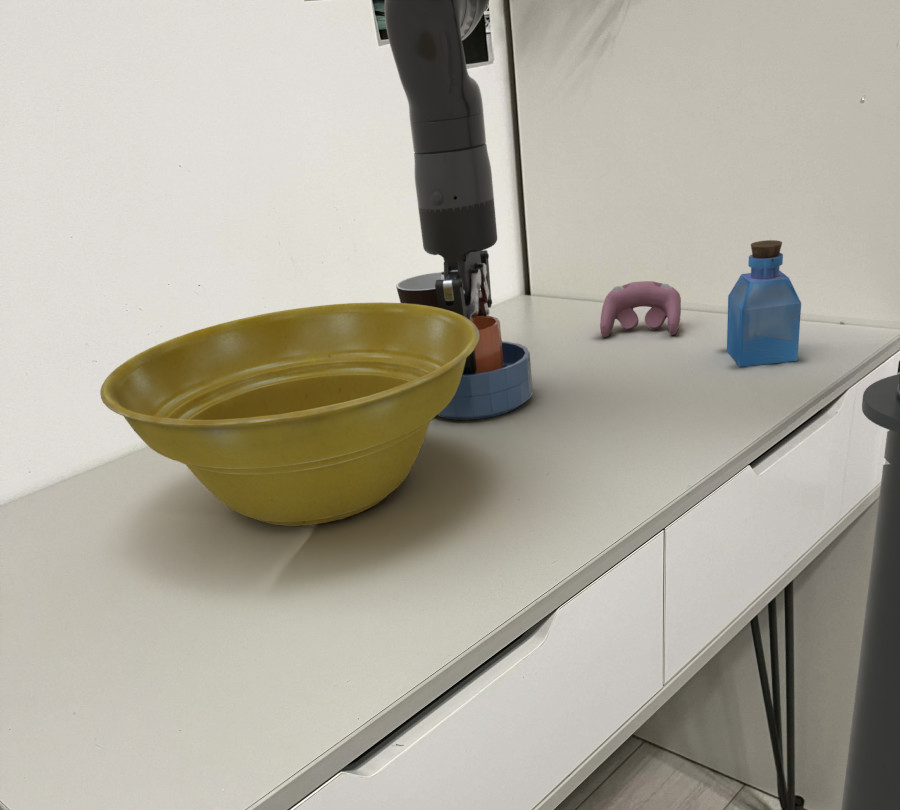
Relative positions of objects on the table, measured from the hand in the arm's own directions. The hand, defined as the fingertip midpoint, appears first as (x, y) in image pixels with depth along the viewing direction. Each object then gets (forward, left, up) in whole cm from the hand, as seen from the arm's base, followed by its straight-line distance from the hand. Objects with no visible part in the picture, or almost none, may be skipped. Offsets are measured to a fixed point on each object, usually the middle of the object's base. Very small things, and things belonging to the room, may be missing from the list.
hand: (473, 363), depth 102 cm
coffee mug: (+9, -14, -5) cm, 17 cm away
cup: (0, 0, -4) cm, 4 cm away
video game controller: (-16, -24, -5) cm, 29 cm away
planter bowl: (+10, +23, -5) cm, 25 cm away
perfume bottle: (-30, -12, -5) cm, 33 cm away
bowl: (0, 0, -4) cm, 4 cm away
